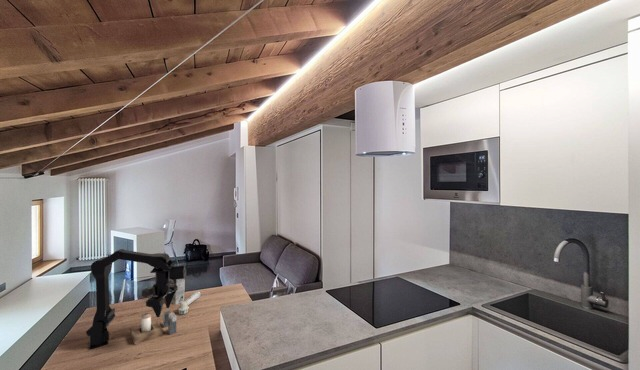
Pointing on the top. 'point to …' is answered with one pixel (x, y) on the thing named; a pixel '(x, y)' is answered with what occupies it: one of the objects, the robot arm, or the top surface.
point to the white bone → (188, 302)
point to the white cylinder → (145, 322)
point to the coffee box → (180, 292)
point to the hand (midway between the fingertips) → (163, 312)
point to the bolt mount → (169, 323)
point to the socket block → (146, 333)
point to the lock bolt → (172, 317)
